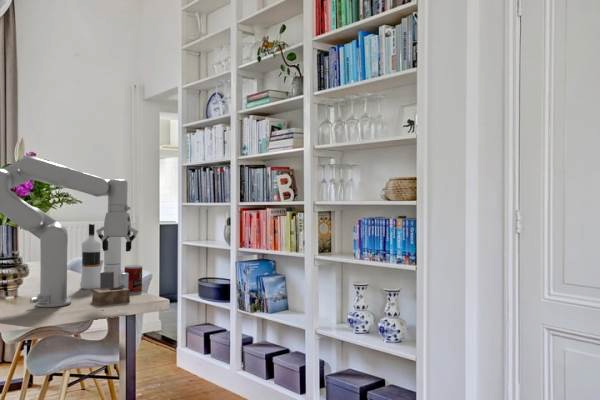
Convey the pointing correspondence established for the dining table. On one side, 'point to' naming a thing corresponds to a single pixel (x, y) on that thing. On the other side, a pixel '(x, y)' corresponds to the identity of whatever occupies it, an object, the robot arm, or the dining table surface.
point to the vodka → (91, 261)
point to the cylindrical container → (113, 258)
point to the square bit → (106, 280)
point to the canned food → (134, 277)
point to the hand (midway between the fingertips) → (116, 250)
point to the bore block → (110, 295)
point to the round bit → (123, 280)
